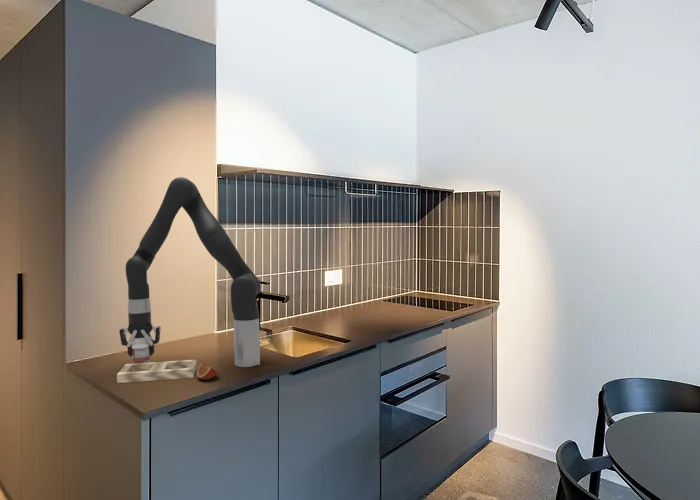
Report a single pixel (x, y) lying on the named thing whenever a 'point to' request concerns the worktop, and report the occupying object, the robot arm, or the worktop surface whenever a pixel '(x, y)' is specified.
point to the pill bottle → (140, 351)
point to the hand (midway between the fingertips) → (141, 355)
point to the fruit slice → (206, 371)
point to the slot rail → (157, 371)
